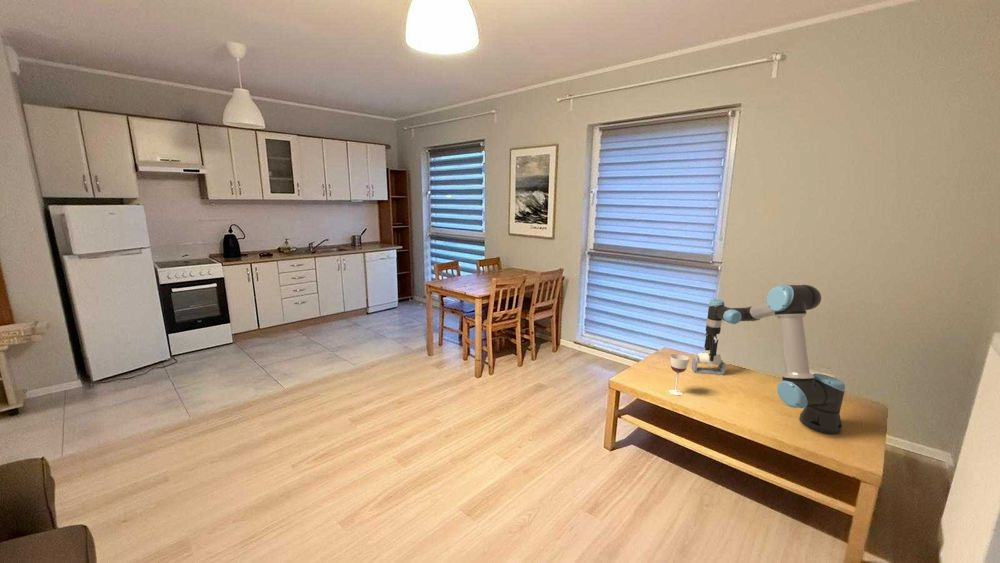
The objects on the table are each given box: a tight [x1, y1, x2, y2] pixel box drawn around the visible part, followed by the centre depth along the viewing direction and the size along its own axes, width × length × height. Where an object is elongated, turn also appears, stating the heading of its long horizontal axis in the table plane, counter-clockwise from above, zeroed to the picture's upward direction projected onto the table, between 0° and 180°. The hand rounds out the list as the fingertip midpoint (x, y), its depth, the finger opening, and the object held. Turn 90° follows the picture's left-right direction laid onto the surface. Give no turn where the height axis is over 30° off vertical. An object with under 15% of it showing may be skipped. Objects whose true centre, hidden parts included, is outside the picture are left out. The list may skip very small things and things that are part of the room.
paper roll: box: [696, 352, 722, 366], centre depth 233 cm, size 11×6×6 cm, turn 79°
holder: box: [691, 357, 726, 376], centre depth 234 cm, size 6×16×7 cm, turn 79°
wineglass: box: [668, 353, 690, 396], centre depth 206 cm, size 8×9×20 cm
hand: (708, 363), depth 234 cm, fingers closed on paper roll, 6 cm apart
